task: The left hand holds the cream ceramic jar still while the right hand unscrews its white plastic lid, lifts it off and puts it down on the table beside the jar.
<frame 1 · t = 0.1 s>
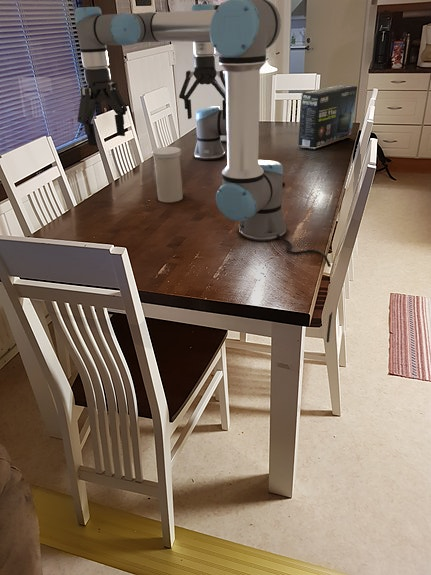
left hand: (207, 118, 172), 28 cm above the table, tool pointing down, fingers open, 13 cm apart
right hand: (107, 140, 148), 28 cm above the table, tool pointing down, fingers open, 13 cm apart
jar: (170, 197, 181), on the table
router box: (325, 143, 245), on the table
fossil: (223, 140, 259), on the table
lid: (166, 151, 171), point 18 cm above the table, screwed on, not yet turned
handgun: (269, 179, 195), on the table
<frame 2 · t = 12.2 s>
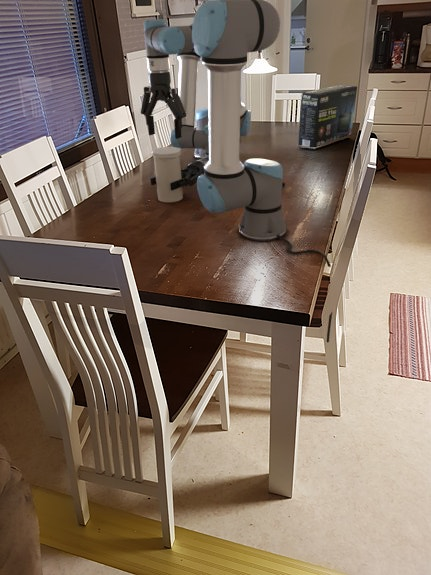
left hand: (161, 184, 174), 7 cm above the table, tool horizontal, fingers closed on jar, 10 cm apart
right hand: (165, 136, 168), 24 cm above the table, tool pointing down, fingers open, 12 cm apart
jar: (170, 197, 181), on the table, touching left hand
everything else where it was.
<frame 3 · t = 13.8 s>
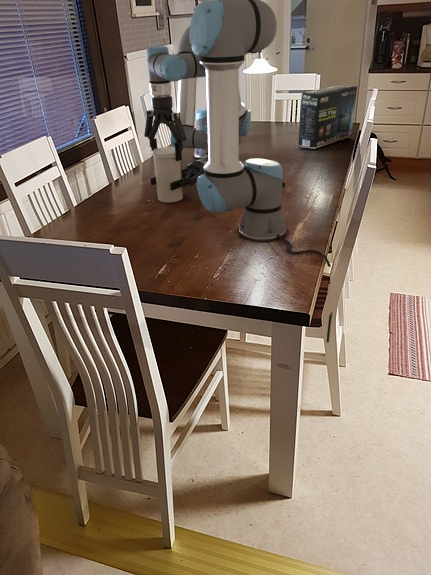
left hand: (161, 184, 174), 7 cm above the table, tool horizontal, fingers closed on jar, 10 cm apart
right hand: (166, 158, 173), 16 cm above the table, tool pointing down, fingers closed on lid, 11 cm apart
jar: (170, 197, 181), on the table, touching left hand
lid: (166, 151, 171), point 18 cm above the table, screwed on, not yet turned, touching right hand
everything else where it was.
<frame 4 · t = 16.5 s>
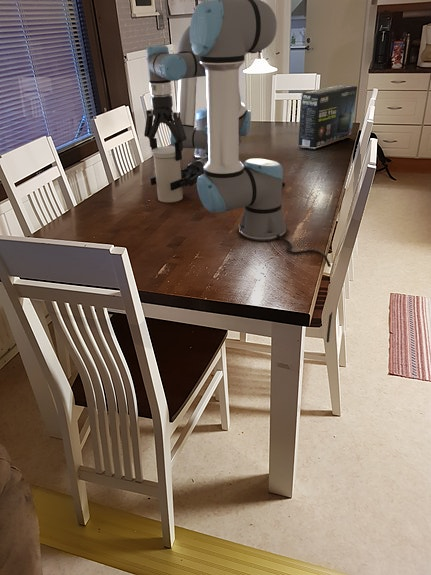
left hand: (161, 184, 174), 7 cm above the table, tool horizontal, fingers closed on jar, 10 cm apart
right hand: (166, 158, 173), 16 cm above the table, tool pointing down, fingers closed on lid, 11 cm apart
jar: (170, 197, 181), on the table, touching left hand
lid: (166, 150, 171), point 18 cm above the table, turned 75° so far, risen 0.2 cm, still on its thread, touching right hand
everything else where it was.
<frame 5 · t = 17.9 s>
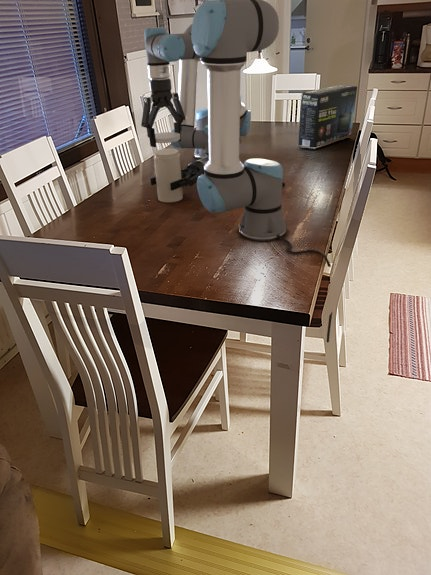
left hand: (161, 184, 174), 7 cm above the table, tool horizontal, fingers closed on jar, 10 cm apart
right hand: (166, 143, 169), 21 cm above the table, tool pointing down, fingers closed on lid, 11 cm apart
jar: (170, 197, 181), on the table, touching left hand
lid: (165, 136, 168), point 24 cm above the table, off its thread, touching right hand
everything else where it was.
when the right hand's fingers open (0 cm above the table, at t = 23.0 s): lid drops 2 cm, point 1 cm above the table.
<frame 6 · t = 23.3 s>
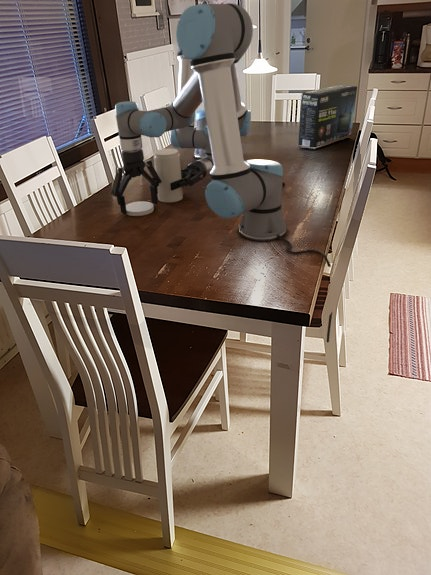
left hand: (161, 184, 174), 7 cm above the table, tool horizontal, fingers closed on jar, 10 cm apart
right hand: (139, 207, 170), 1 cm above the table, tool pointing down, fingers open, 13 cm apart
jar: (170, 197, 181), on the table, touching left hand
lid: (138, 207, 170), point 1 cm above the table, off its thread
everything else where it was.
when the left hand's fingers open (7 cm above the table, at t = 24.0 s): jar stays where it is, on the table.
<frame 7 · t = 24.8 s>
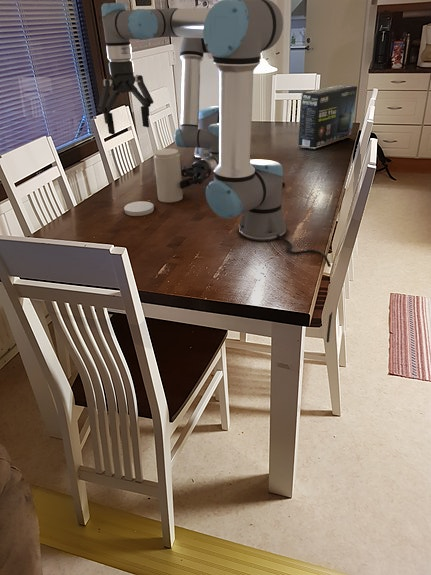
left hand: (168, 182, 177), 7 cm above the table, tool horizontal, fingers open, 13 cm apart
right hand: (129, 130, 155), 29 cm above the table, tool pointing down, fingers open, 13 cm apart
jar: (170, 197, 181), on the table
everything else where it was.
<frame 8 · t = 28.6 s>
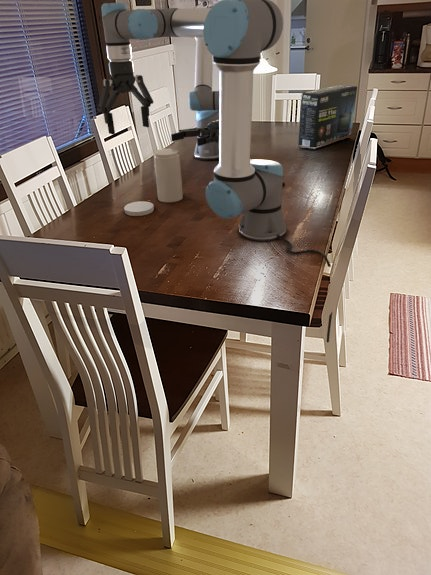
left hand: (184, 140, 177), 20 cm above the table, tool horizontal, fingers open, 13 cm apart
right hand: (129, 130, 155), 29 cm above the table, tool pointing down, fingers open, 13 cm apart
nothing on the table moved.
at the end: lid came off its thread; lid point 1.2 cm above the table; the left hand is holding nothing; the right hand is holding nothing; jar tilted 0°; jar moved 0.0 cm from its start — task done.
